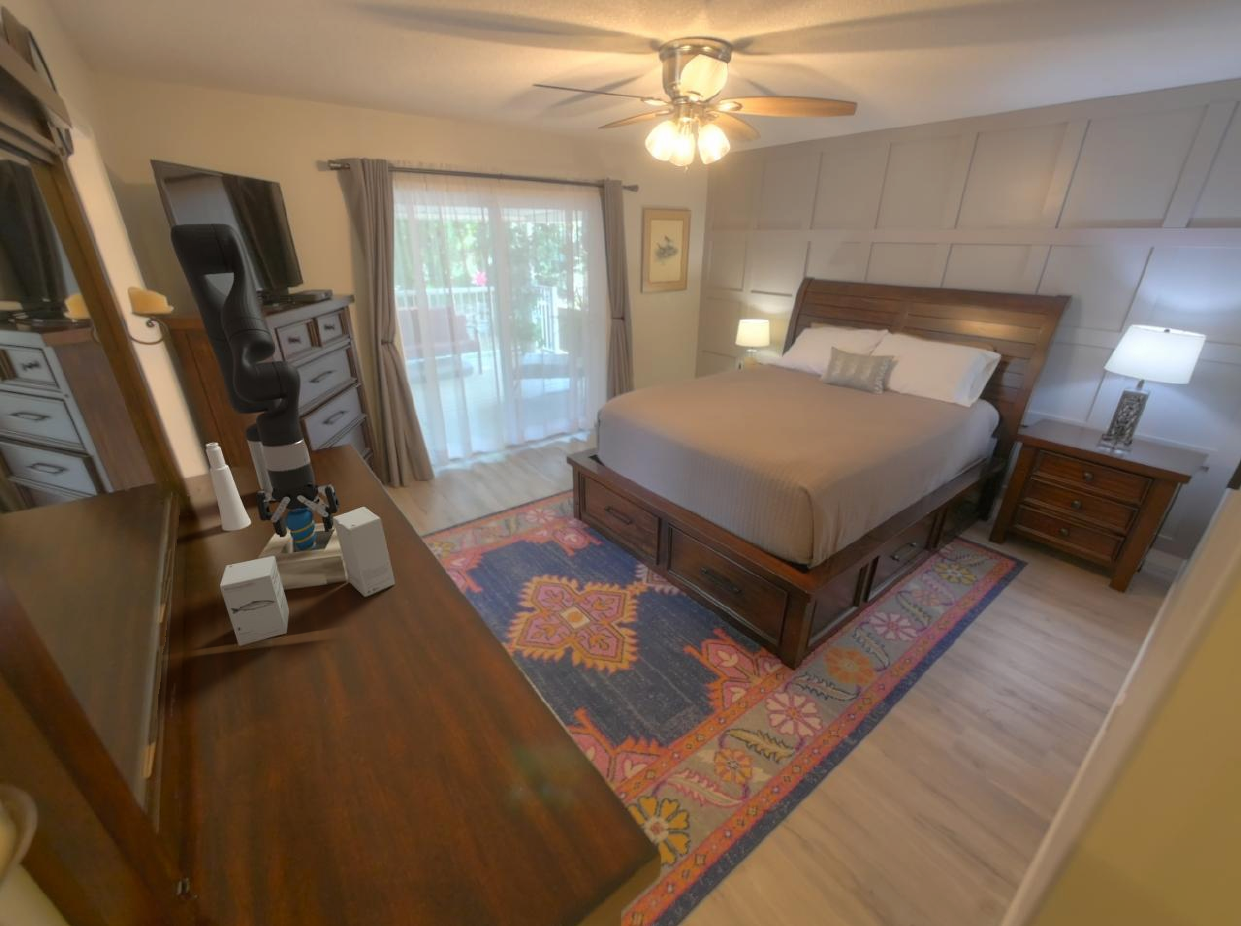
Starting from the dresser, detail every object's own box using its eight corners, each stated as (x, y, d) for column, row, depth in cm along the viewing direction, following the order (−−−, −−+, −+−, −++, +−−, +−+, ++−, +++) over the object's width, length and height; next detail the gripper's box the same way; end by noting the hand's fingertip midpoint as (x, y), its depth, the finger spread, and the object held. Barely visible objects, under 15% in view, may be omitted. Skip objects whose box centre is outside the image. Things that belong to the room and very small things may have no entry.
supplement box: (238, 647, 88) (217, 586, 83) (244, 622, 94) (225, 564, 89) (288, 634, 91) (270, 574, 86) (291, 610, 97) (274, 553, 92)
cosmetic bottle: (252, 528, 126) (227, 445, 118) (222, 535, 123) (194, 450, 115) (251, 518, 131) (227, 438, 123) (222, 525, 128) (196, 442, 120)
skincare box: (395, 585, 105) (383, 518, 99) (363, 599, 100) (347, 530, 95) (378, 569, 110) (365, 504, 104) (346, 582, 106) (331, 515, 100)
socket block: (285, 552, 116) (278, 527, 114) (361, 543, 120) (356, 519, 118) (259, 593, 102) (251, 566, 100) (346, 581, 106) (340, 555, 104)
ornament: (330, 559, 113) (315, 499, 107) (315, 572, 108) (298, 510, 102) (308, 557, 114) (292, 497, 108) (292, 571, 109) (274, 509, 103)
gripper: (332, 452, 107) (346, 520, 113) (254, 458, 104) (274, 528, 110) (322, 465, 100) (339, 537, 106) (240, 472, 97) (261, 546, 103)
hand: (306, 532), depth 108 cm, fingers open, 8 cm apart
